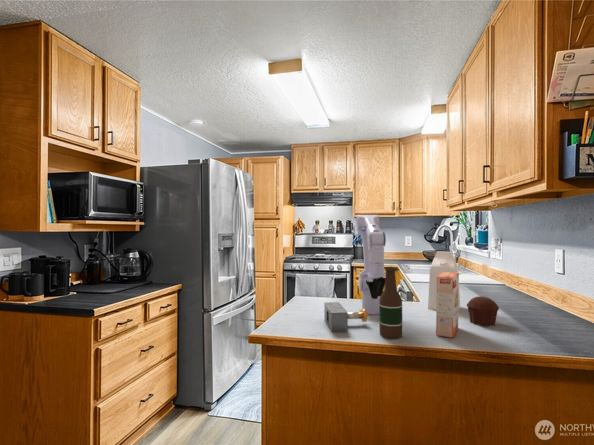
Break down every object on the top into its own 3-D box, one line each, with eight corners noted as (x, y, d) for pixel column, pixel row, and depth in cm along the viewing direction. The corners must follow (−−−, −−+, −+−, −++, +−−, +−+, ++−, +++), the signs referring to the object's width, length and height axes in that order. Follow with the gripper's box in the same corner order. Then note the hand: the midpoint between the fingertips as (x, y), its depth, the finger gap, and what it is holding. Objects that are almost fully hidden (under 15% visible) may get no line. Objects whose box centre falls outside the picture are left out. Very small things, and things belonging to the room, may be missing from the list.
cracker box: (454, 339, 117) (454, 277, 117) (435, 336, 120) (435, 276, 120) (459, 328, 129) (459, 272, 129) (442, 325, 132) (442, 271, 132)
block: (338, 319, 141) (338, 302, 141) (347, 331, 126) (347, 312, 126) (324, 319, 141) (324, 302, 141) (331, 332, 125) (331, 312, 125)
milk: (460, 306, 160) (459, 251, 160) (456, 312, 151) (456, 253, 150) (433, 303, 167) (432, 250, 167) (427, 308, 157) (427, 252, 157)
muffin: (503, 328, 128) (503, 301, 128) (471, 326, 130) (471, 300, 130) (493, 319, 139) (493, 295, 139) (463, 317, 142) (463, 293, 142)
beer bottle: (402, 333, 123) (402, 266, 123) (402, 340, 116) (401, 269, 116) (380, 331, 126) (380, 265, 126) (378, 338, 118) (377, 268, 118)
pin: (363, 319, 137) (363, 307, 137) (367, 323, 132) (367, 310, 132) (338, 320, 136) (337, 308, 136) (340, 324, 131) (340, 311, 131)
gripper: (373, 260, 143) (373, 292, 143) (359, 264, 131) (359, 299, 131) (390, 261, 139) (390, 294, 139) (377, 265, 127) (377, 302, 127)
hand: (376, 297), depth 135 cm, fingers open, 4 cm apart
